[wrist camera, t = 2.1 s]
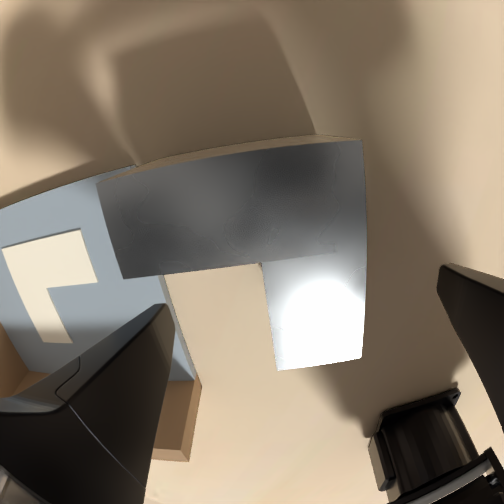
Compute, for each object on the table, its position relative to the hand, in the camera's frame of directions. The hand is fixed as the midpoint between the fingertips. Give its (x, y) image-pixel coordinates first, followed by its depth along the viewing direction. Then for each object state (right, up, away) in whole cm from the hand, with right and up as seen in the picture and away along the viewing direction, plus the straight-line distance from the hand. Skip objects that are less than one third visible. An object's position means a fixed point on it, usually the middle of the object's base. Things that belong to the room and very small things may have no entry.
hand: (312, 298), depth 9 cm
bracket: (-2, +3, +3) cm, 4 cm away
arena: (-12, -2, +5) cm, 13 cm away
